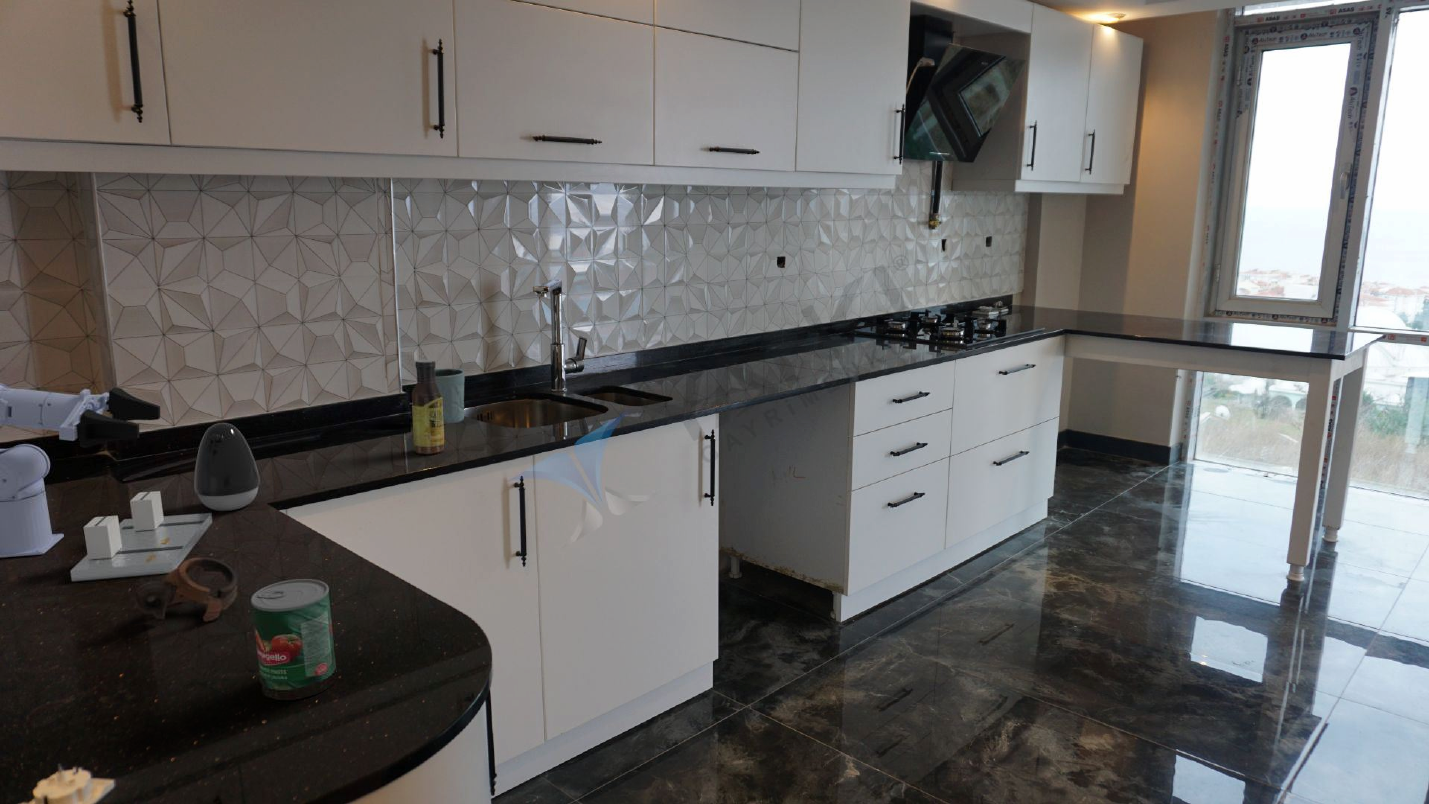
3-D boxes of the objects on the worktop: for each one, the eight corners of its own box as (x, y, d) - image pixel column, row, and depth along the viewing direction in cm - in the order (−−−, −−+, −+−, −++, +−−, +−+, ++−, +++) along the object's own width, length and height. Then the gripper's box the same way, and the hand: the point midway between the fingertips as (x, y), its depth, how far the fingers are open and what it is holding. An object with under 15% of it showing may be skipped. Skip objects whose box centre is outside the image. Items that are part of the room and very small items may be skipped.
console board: (71, 581, 131) (70, 570, 131) (125, 528, 152) (124, 518, 152) (173, 572, 134) (172, 561, 134) (212, 522, 155) (211, 512, 155)
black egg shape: (190, 518, 157) (179, 432, 153) (205, 499, 167) (196, 418, 163) (255, 513, 159) (246, 428, 156) (267, 495, 169) (258, 414, 166)
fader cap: (88, 559, 135) (83, 526, 134) (99, 548, 139) (94, 516, 138) (111, 557, 135) (106, 524, 134) (122, 546, 140) (117, 515, 138)
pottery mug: (202, 595, 128) (225, 548, 127) (233, 640, 124) (257, 593, 122) (110, 605, 118) (134, 554, 116) (140, 655, 114) (165, 603, 112)
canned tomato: (347, 665, 108) (339, 578, 106) (321, 701, 101) (312, 608, 98) (279, 666, 108) (269, 578, 106) (248, 702, 101) (237, 608, 98)
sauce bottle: (435, 456, 195) (430, 364, 191) (409, 454, 196) (402, 362, 192) (450, 448, 201) (445, 358, 197) (424, 446, 202) (418, 357, 198)
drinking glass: (472, 415, 231) (470, 368, 228) (457, 425, 221) (455, 376, 218) (434, 414, 232) (431, 367, 229) (417, 424, 222) (414, 375, 219)
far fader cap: (134, 531, 146) (129, 500, 145) (143, 521, 150) (139, 491, 149) (155, 529, 147) (151, 499, 146) (163, 520, 151) (159, 490, 150)
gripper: (23, 404, 132) (127, 415, 134) (73, 370, 145) (167, 381, 148) (26, 448, 134) (128, 459, 137) (75, 412, 147) (168, 422, 150)
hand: (149, 421), depth 142 cm, fingers open, 7 cm apart
